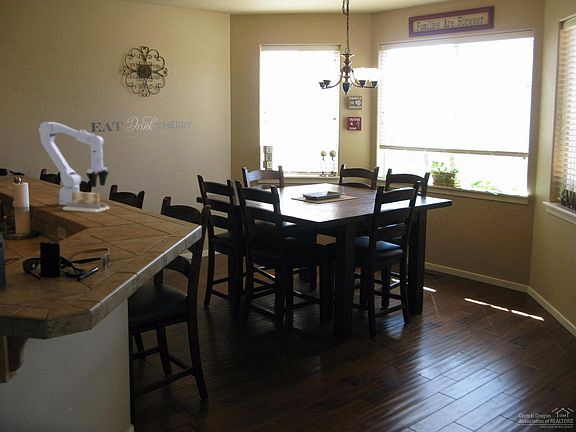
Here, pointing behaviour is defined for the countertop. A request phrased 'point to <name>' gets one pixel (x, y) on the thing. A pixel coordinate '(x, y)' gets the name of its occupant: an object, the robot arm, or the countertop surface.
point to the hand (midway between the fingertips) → (98, 186)
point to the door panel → (86, 198)
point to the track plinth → (85, 207)
